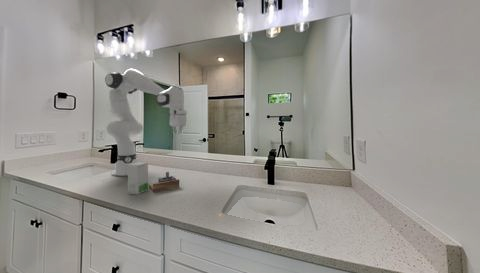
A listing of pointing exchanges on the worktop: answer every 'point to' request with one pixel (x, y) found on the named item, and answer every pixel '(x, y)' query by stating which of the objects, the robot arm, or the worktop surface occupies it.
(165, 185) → the hook shelf
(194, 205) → the worktop surface
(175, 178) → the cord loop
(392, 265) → the worktop surface
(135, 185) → the skincare box
